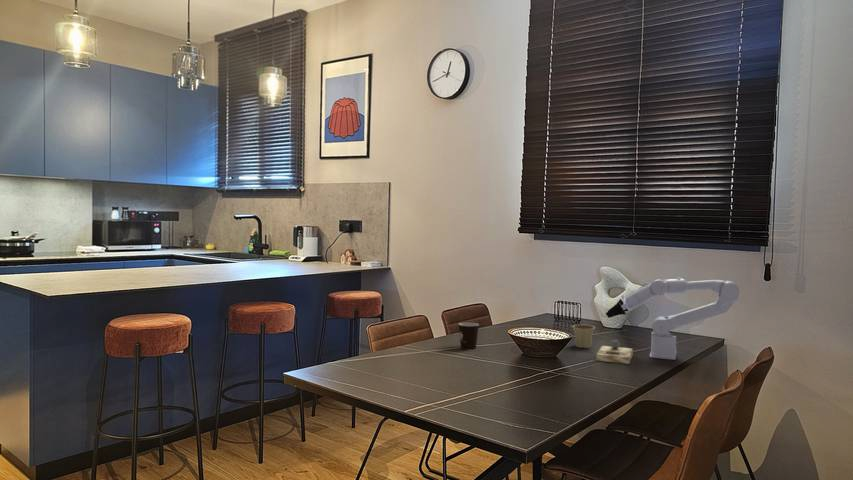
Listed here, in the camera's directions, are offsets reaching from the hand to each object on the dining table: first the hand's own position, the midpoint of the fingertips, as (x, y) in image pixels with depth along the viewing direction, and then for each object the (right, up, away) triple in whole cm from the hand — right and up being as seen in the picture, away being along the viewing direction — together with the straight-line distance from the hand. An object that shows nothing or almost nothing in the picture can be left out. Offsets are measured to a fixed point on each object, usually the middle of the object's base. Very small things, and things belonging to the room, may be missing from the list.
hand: (608, 314), depth 242 cm
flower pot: (-8, -15, +9) cm, 20 cm away
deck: (0, -16, -10) cm, 19 cm away
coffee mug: (-57, -15, +6) cm, 60 cm away
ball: (+1, -11, -5) cm, 13 cm away
